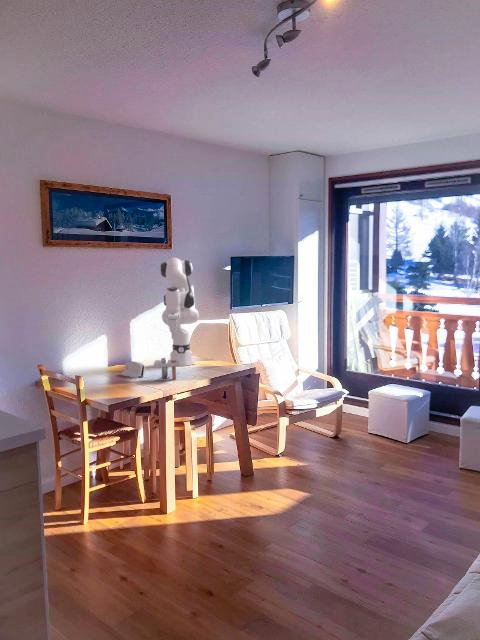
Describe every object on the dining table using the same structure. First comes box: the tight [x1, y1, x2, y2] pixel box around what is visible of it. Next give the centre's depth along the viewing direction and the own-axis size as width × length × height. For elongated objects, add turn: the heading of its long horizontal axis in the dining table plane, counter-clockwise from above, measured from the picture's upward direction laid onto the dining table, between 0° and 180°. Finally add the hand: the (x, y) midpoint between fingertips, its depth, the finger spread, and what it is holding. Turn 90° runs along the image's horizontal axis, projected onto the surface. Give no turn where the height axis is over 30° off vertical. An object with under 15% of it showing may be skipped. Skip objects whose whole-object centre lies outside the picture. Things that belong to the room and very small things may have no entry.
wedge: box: [171, 360, 177, 381], centre depth 334 cm, size 2×2×12 cm
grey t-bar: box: [153, 357, 181, 382], centre depth 334 cm, size 10×15×13 cm, turn 96°
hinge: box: [121, 361, 146, 379], centre depth 346 cm, size 17×5×10 cm, turn 50°
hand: (173, 337), depth 334 cm, fingers open, 8 cm apart
